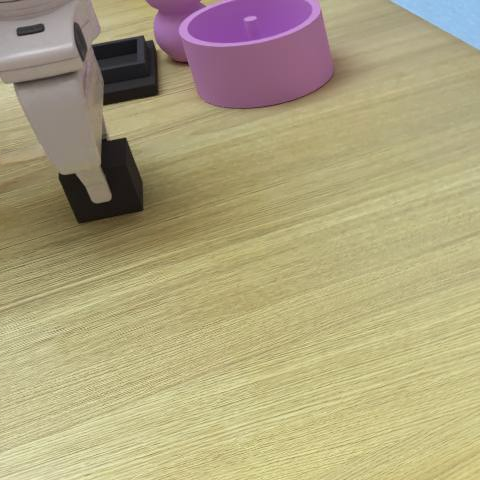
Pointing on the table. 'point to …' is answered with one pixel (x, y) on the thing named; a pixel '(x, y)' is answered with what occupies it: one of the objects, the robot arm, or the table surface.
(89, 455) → the table surface
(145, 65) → the base pad
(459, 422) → the table surface
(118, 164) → the black rectangular block
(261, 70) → the container set
